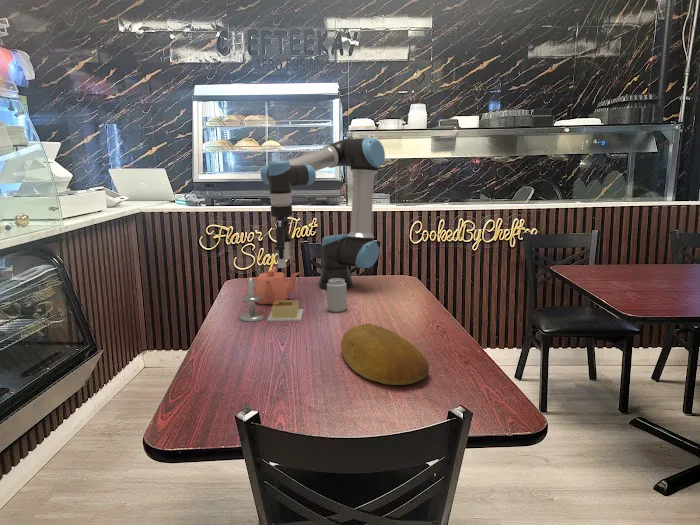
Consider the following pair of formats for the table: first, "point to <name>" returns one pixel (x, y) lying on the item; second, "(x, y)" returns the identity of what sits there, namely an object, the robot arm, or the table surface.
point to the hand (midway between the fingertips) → (284, 263)
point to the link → (285, 309)
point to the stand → (251, 305)
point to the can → (336, 295)
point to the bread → (383, 356)
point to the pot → (273, 286)
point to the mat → (286, 318)
